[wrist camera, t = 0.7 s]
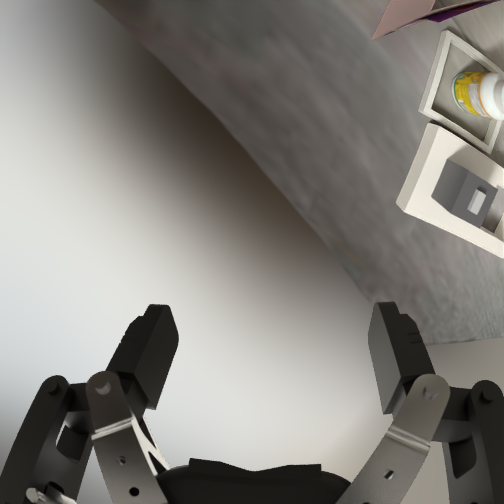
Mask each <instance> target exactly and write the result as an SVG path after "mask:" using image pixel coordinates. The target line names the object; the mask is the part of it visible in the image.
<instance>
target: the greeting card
mask: <svg viewBox="0 0 504 504" xmlns="http://www.w3.org/2000/svg"><path fill="white" fill-rule="evenodd" d="M497 1H500V0H473V1H468V2H464V3H460V4H456V5H452V6H448V7H444V8H441V9H437V10H434V11H431V10H432V7H433V5H434V3H435V0H390V2H389V4H388V6H387V8H386V10H385V12H384V14H383V16H382V19H381V21H380V23H379V25H378V27H377V29H376V31H375V33H374V35H373V38H372V40H374V39H376V38H379V37H381V36H384V35H387V34H389V33H392V32H395V31H397V30H400V29H403V28H405V27H408V26H411V25H414V24H417V23H420V22H423V21H426V20H431V21H436V22H441V21H443V20H446V19H448V18H451V17H453V16H456V15H459V14H461V13H464V12H467V11H469V10H472V9H475V8H478V7H481V6H484V5H487V4H490V3H493V2H497Z"/></svg>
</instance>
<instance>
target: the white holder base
mask: <svg viewBox="0 0 504 504" xmlns="http://www.w3.org/2000/svg"><path fill="white" fill-rule="evenodd" d="M497 185H499V186H500V187H502V188H503V189H504V169H503V168H502V167H501V166H499V165H498V164H497V163H495V162H494V161H493V160H491V159H490V158H488V157H487V156H486V155H484V154H483V153H481V152H480V151H478V150H477V149H476V148H474V147H473V146H471V145H469V144H468V143H466V142H465V141H463V140H462V139H460V138H459V137H457V136H455V135H454V134H452V133H451V132H449V131H447V130H446V129H444V128H442V127H440V126H438V125H435V124H431V123H428V124H427V127H426V130H425V132H424V135H423V138H422V140H421V143H420V146H419V148H418V151H417V153H416V156H415V158H414V161H413V163H412V166H411V168H410V171H409V173H408V175H407V178H406V180H405V183H404V185H403V187H402V190H401V192H400V194H399V196H398V199H397V201H396V204H397V205H398V206H399V207H400V208H401V209H402V210H403V212H405V213H408V214H410V215H412V216H415V217H417V218H419V219H422V220H424V221H426V222H428V223H431V224H433V225H435V226H437V227H440V228H442V229H444V230H446V231H448V232H450V233H453V234H455V235H457V236H459V237H461V238H463V239H465V240H467V241H469V242H471V243H473V244H475V245H477V246H479V247H481V248H483V249H485V250H487V251H489V252H491V253H493V254H495V255H497V256H499V257H501V258H504V213H503V216H502V218H501V220H500V222H499V224H498V226H497V228H496V230H495V232H494V233H493V232H491V231H489V230H487V229H485V228H484V227H482V226H481V225H482V223H483V221H484V219H485V217H486V215H487V213H488V211H489V209H490V207H491V204H492V202H493V200H494V198H495V195H496V193H497V191H498V189H497V188H496V187H497Z"/></svg>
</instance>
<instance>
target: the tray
mask: <svg viewBox="0 0 504 504" xmlns="http://www.w3.org/2000/svg"><path fill="white" fill-rule="evenodd" d="M450 43H451V44H453V45H455V46H456V47H458V48H459V49H460V50H462V51H463V52H465V53H466V54H468V55H469V56H470V57H472V58H473V59H475V60H476V61H477V62H479V63H480V64H481V65H483V66H484V67H485V68H487V69H488V70H489V71H490V72H494V73H498V74H501V75H502V76H504V71H502V70H501V69H500V68H499V67H498V66H496V65H495V64H494V63H493V62H491V61H490V60H489V59H488V58H486V57H485V56H484V55H483V54H481V53H480V52H479V51H477V50H476V49H475V48H473V47H472V46H470V45H469V44H468V43H466V42H465V41H463V40H462V39H460V38H459V37H457V36H456V35H454V34H453V33H451V32H450V31H448V30H445V31H442V32H441V36H440V40H439V43H438V47H437V51H436V54H435V58H434V61H433V65H432V68H431V72H430V75H429V78H428V81H427V85H426V88H425V91H424V94H423V97H422V100H421V103H420V106H419V109H418V111H419V112H421V113H423V114H424V115H426V116H428V117H430V118H432V119H433V120H435V121H437V122H439V123H440V124H442V125H444V126H445V127H447V128H449V129H450V130H452V131H454V132H455V133H457V134H458V135H460V136H462V137H463V138H465V139H466V140H468V141H469V142H471V143H472V144H474V145H475V146H477V147H478V148H480V149H481V150H483V151H484V152H486V153H488V154H490V155H491V152H492V150H493V147H494V144H495V141H496V138H497V135H498V132H499V129H500V126H501V123H502V121H500V120H495V119H491V121H490V124H489V127H488V130H487V133H486V136H485V139H484V141H483V142H482V141H480V140H479V139H478V138H476V137H475V136H473V135H472V134H470V133H469V132H467V131H466V130H464V129H463V128H461V127H460V126H458V125H457V124H455V123H453V122H452V121H450V120H448V119H447V118H445V117H444V116H442V115H440V114H438V113H437V112H435V111H433V110H432V109H431V107H432V104H433V101H434V98H435V95H436V91H437V88H438V85H439V82H440V79H441V75H442V72H443V68H444V65H445V61H446V58H447V54H448V50H449V46H450Z"/></svg>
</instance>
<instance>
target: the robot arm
mask: <svg viewBox="0 0 504 504" xmlns="http://www.w3.org/2000/svg"><path fill="white" fill-rule="evenodd" d="M419 333H420V332H419V330H418V328H417V325H416V323H415V322H414V321H413V320H412V319H411V318H410V317H409V316H408V315H407V314H400V313H399V311H398V308H397V306H396V303H395V302H378V303H375V305H374V308H373V313H372V318H371V323H370V327H369V332H368V344H369V349H370V353H371V358H372V362H373V367H374V371H375V376H376V380H377V385H378V390H379V395H380V400H381V405H382V410H383V414H391V413H392V415H393V419H394V420H393V422H392V424H391V426H390V427H389V429H388V430H387V432H386V434H385V435H384V437H383V438H382V440H381V442H380V443H379V445H378V446H377V448H376V450H375V451H374V453H373V454H372V455H371V457H370V458H369V460H368V461H367V463H366V464H365V466H364V467H363V469H362V470H361V471H360V473H359V474H358V475H357V477H356V478H355V479H354V481H353V482H352V483H351V482H349V481H348V480H346V479H344V478H343V477H340V476H338V475H336V474H333V473H329V472H325V471H321V464H310V465H286V466H281V467H276V468H272V469H266V470H261V471H249V470H245V469H242V468H239V467H235V466H232V465H229V464H226V463H223V462H219V461H210V460H202V459H194V458H190V460H189V465H184V466H179V467H175V468H170V466H169V465H168V463H167V462H166V460H165V459H164V457H163V456H162V454H161V452H160V450H159V448H158V446H157V444H156V442H155V440H154V438H153V435H152V433H151V431H150V429H149V426H148V424H147V422H146V420H145V417H144V416H143V414H144V411H145V409H146V408H147V409H152V410H156V407H157V404H158V401H159V398H160V395H161V392H162V389H163V387H164V384H165V381H166V378H167V375H168V372H169V369H170V367H171V364H172V361H173V358H174V355H175V352H176V350H177V347H178V342H179V335H178V331H177V327H176V324H175V322H174V318H173V315H172V312H171V309H170V307H169V306H168V305H159V304H158V305H157V304H150V305H149V306H148V308H147V310H146V311H145V313H144V315H143V316H138V317H137V318H136V319H135V320H134V321H133V322H132V323H130V325H129V327H128V329H127V330H126V332H125V335H124V336H123V338H122V340H121V343H119V345H118V347H117V349H116V351H115V353H114V355H113V357H112V359H111V361H110V363H109V364H108V367H107V368H106V370H105V371H101V372H98V373H96V374H94V375H93V376H92V377H90V379H89V380H88V381H87V383H78V384H69V383H68V381H67V380H66V379H65V378H64V377H63V376H60V375H55V376H52V377H49V378H48V379H46V380H45V381H44V382H43V383H42V385H41V387H40V389H39V391H38V393H37V394H36V396H35V399H34V400H33V403H32V404H31V407H30V409H29V411H28V413H27V415H26V417H25V419H24V421H23V423H22V426H21V428H20V430H19V432H18V434H17V437H16V439H15V441H14V444H13V446H12V448H11V451H10V453H9V456H8V458H7V461H6V463H5V466H4V469H3V471H2V474H1V476H0V504H77V503H76V500H77V496H78V493H79V489H80V486H81V482H82V479H83V476H84V472H85V469H86V465H87V463H88V460H89V456H90V453H91V450H92V447H93V446H94V450H95V453H96V456H97V459H98V463H99V466H100V469H101V472H102V474H103V477H104V480H105V483H106V486H107V489H108V491H109V494H110V496H111V499H112V502H113V504H400V503H401V501H402V499H403V498H404V496H405V495H406V493H407V491H408V490H409V488H410V486H411V485H412V483H413V481H414V479H415V478H416V476H417V474H418V472H419V470H420V468H421V467H422V465H423V463H424V461H425V459H426V457H427V455H428V453H429V450H430V446H429V444H430V442H431V441H437V442H442V446H443V452H444V458H445V465H446V472H447V480H448V489H449V500H450V504H504V396H503V393H502V391H501V389H500V388H499V387H498V385H496V384H495V383H494V382H492V381H489V380H482V381H479V382H477V383H476V384H475V385H474V386H473V388H472V389H464V388H455V387H451V386H449V385H448V383H447V382H446V380H445V379H443V378H442V377H440V376H438V375H436V374H435V371H434V369H433V366H432V363H431V360H430V358H429V355H428V352H427V350H426V347H425V345H424V343H423V340H422V337H421V335H420V334H419ZM63 423H64V424H65V426H64V428H63V431H62V434H61V436H60V439H59V441H58V444H57V446H56V439H57V437H58V434H59V432H60V429H61V427H62V425H63Z"/></svg>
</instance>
